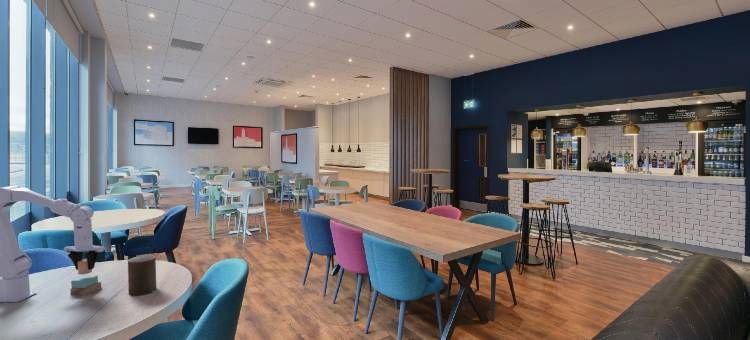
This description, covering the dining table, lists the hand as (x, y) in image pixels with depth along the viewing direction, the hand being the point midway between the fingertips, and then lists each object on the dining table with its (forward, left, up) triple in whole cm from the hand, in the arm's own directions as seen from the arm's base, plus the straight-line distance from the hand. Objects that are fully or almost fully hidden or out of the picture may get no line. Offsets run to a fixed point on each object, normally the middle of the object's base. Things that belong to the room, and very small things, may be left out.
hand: (85, 268), depth 147 cm
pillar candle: (+23, 0, -10) cm, 25 cm away
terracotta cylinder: (0, 0, -1) cm, 1 cm away
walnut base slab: (0, 0, -10) cm, 10 cm away
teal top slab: (0, 0, -7) cm, 7 cm away
